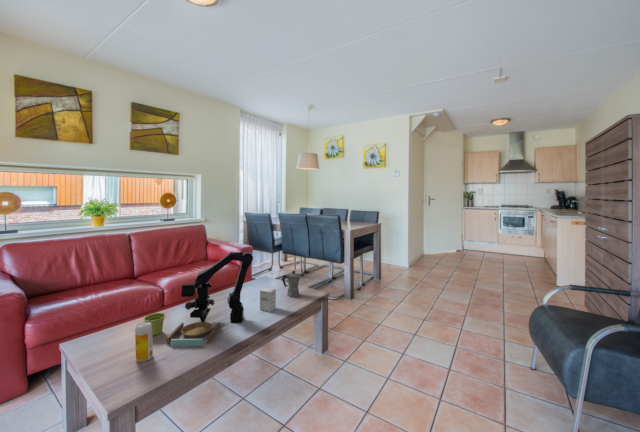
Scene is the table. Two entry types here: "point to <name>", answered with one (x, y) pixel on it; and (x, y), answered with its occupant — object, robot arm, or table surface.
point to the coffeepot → (292, 284)
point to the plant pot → (155, 322)
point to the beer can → (144, 341)
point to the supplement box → (267, 299)
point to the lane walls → (183, 326)
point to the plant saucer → (196, 329)
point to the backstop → (186, 342)
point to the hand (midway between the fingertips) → (203, 323)
